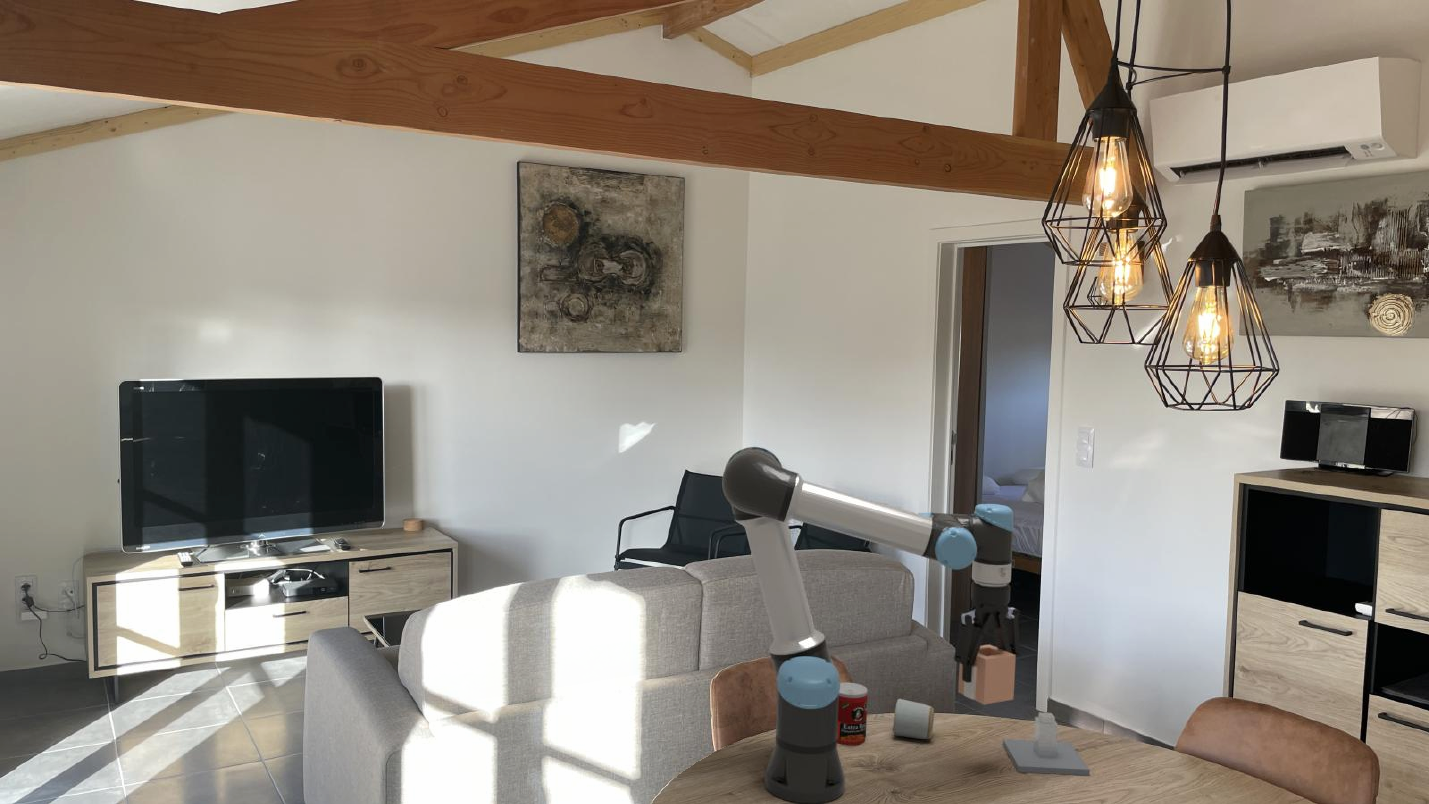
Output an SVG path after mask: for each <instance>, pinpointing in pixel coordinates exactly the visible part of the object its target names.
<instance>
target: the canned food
mask: <svg viewBox="0 0 1429 804" xmlns="http://www.w3.org/2000/svg"><path fill="white" fill-rule="evenodd" d="M868 695H869V693H868V687H866V686H865V685H862V684H859V683H856V682H848V681H847V682H840V691H839V701H838V728H837V744H840V745H844V744H845V746H857V745H861V744H863V743H864V742H865V740H866V738H867V721H868V720H867V719H868V700H869V699H868Z"/></svg>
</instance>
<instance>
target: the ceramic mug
mask: <svg viewBox="0 0 1429 804" xmlns="http://www.w3.org/2000/svg"><path fill="white" fill-rule="evenodd" d="M934 721H935V709H934V707H933V706H931V705H928V704H925V703H921V702H915V701H911V700H906V699H902V698H898V699H897V701H896V704H895V709H894V717H893V727H892V732H893V734H892V735H894V736H897V737H903V738H913V739H917V740H918V739H919V740H929V739H931V738H932V734H933V729H934Z"/></svg>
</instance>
